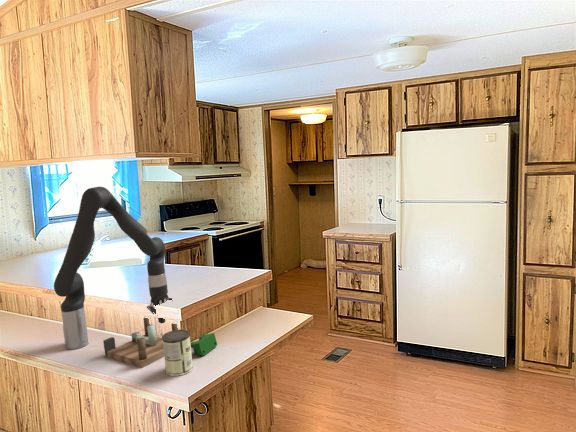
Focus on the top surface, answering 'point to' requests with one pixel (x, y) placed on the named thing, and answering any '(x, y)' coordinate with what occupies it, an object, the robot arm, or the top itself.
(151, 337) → the swing leg
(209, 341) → the clamp
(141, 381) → the top surface
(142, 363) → the stool seat
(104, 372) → the top surface
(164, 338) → the coffee can
